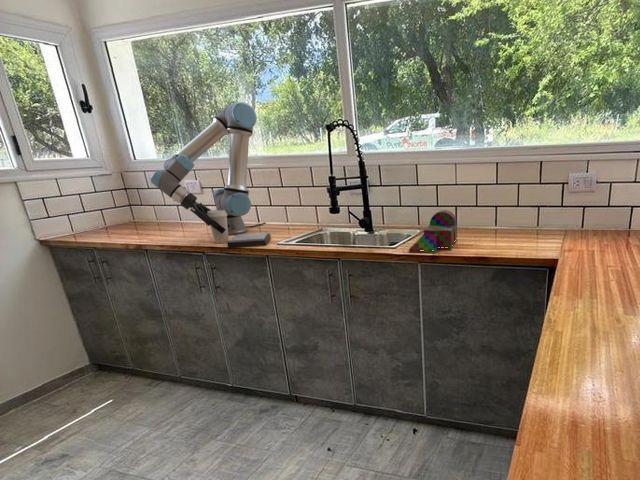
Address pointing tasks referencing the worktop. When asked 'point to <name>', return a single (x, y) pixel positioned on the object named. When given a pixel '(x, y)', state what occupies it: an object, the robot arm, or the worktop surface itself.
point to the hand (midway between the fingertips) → (226, 229)
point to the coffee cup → (221, 219)
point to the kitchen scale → (249, 240)
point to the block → (437, 234)
